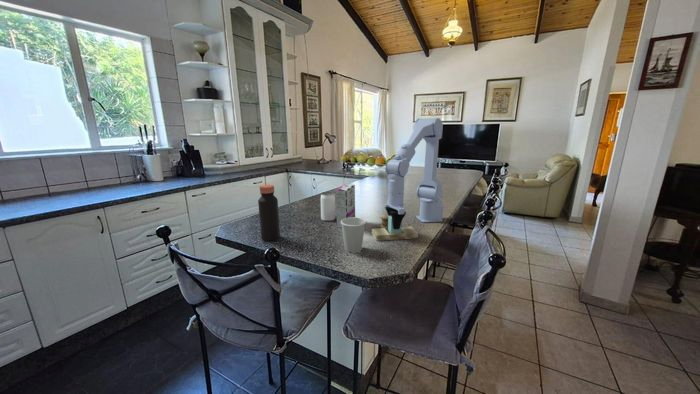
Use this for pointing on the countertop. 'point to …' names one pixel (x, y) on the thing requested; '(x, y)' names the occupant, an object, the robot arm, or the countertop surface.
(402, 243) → the countertop surface
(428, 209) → the robot arm
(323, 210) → the can
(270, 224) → the bottle
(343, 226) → the dixie cup
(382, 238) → the notch board
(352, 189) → the candy bar box
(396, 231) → the pale teal block
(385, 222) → the spool
